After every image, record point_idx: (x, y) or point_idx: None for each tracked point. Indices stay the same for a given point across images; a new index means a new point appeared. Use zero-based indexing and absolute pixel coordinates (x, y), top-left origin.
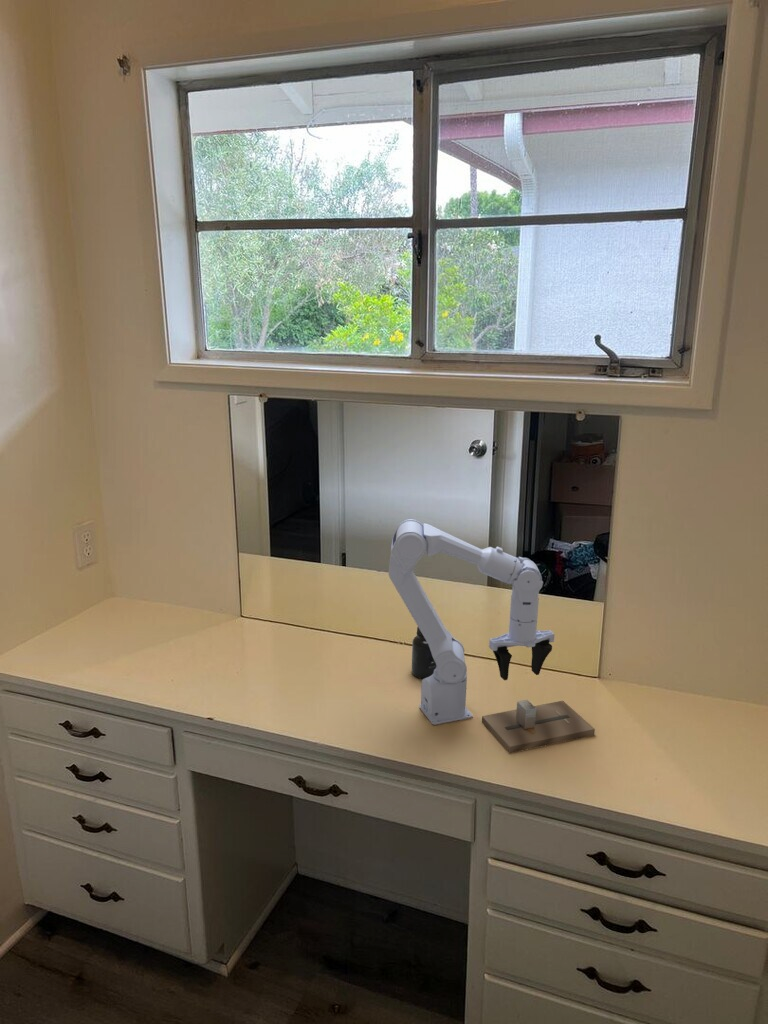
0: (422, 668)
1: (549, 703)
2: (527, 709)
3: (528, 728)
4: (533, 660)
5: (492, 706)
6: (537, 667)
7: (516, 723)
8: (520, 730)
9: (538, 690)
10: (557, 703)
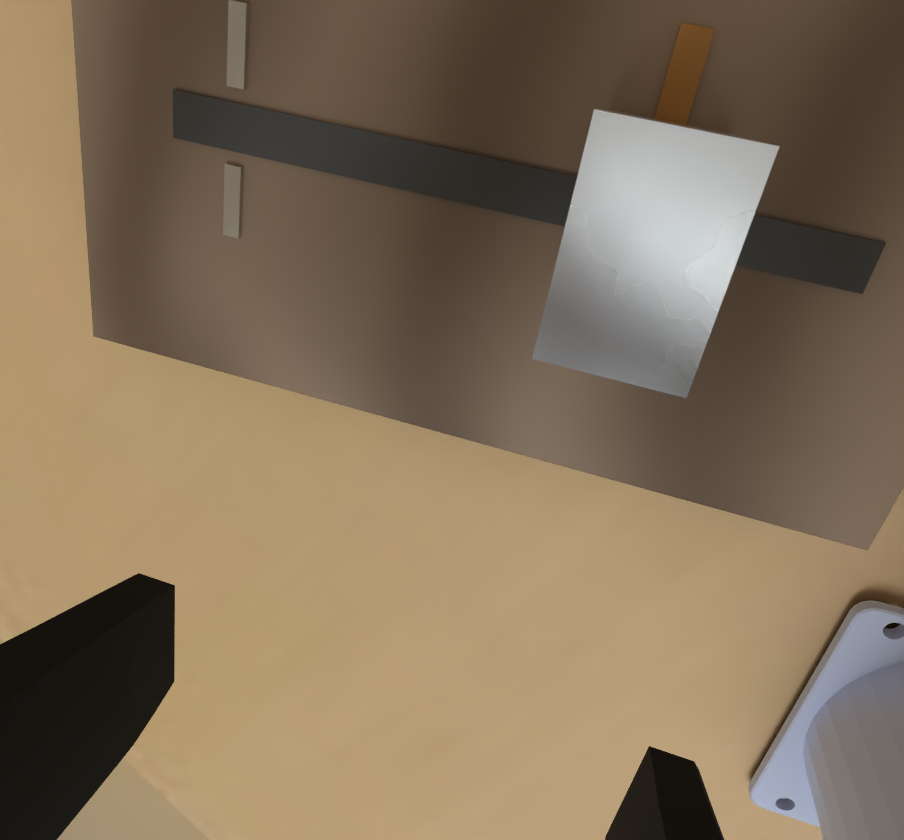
0: None
1: (212, 364)
2: (740, 150)
3: None
4: (41, 818)
5: (586, 606)
6: (78, 671)
7: None
8: None
9: (174, 552)
10: (154, 329)
